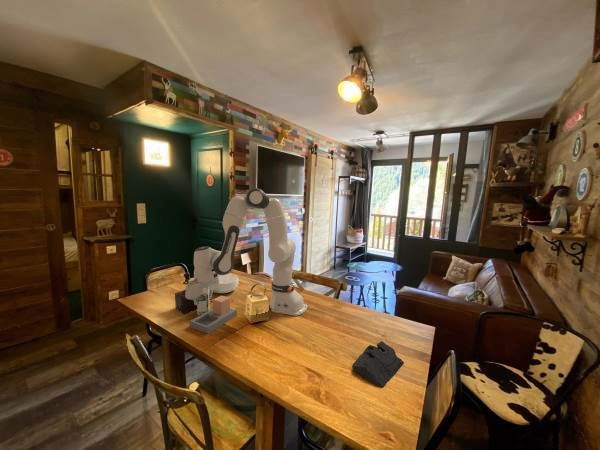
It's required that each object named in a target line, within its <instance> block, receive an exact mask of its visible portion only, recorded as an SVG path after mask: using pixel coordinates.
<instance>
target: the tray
mask: <svg viewBox="0 0 600 450" xmlns="http://www.w3.org/2000/svg"><path fill="white" fill-rule="evenodd" d="M236 316H238V311H237V309H235V308H231V298H230V297H228V296H225V295H219V296H217V297H216V298H213V299H212V309H209V311H208V312H206V313H204V314H201V315H198V316H197V317H195V318H193V319H191V320H190V321H189V327H190V328H191V327H192V329H194V330H196V329H197V331H199V332H202V333H204V332H205V333H204V334H207V333H208V334H211V333H213V331H215V330H217V329H218V328H220V327H221V326H222V325H225V324H226V323H227V322H229V321H231V320H232V319H233V318H235V317H236Z"/></svg>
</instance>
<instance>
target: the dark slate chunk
mask: <svg viewBox="0 0 600 450" xmlns="http://www.w3.org/2000/svg"><path fill="white" fill-rule="evenodd" d="M404 364H405V362H404V360H402V358H400V357H398V355H397V354H396V351H395V349H394V348H393V347H392V346H390V345H388V344H386V343H385V342H384V341H383V340H381V341H380V342H378V343H377V344H376V346H375V345H372V344H369V345H367V347H366V348H365V349H364V351H363V352H362V353H361V354H360V355H359V356H358V357H357V358H356V360H355V361H354V362H353V363H352V364H351V367H352V369H353V370H354V371H355V372H357V374H359V375H361V376H362V377H363V378H365V379H366V381H368V382H370V383H371V384H374V386H376V387H379V388H384V387H385V386H386V385H387V384H388V382H390V381H391V380H392V379H393V378H394V376H396V374H397V372H398V371H400V369H401V368H402V366H403V365H404Z"/></svg>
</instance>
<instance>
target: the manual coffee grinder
mask: <svg viewBox="0 0 600 450" xmlns="http://www.w3.org/2000/svg"><path fill="white" fill-rule="evenodd" d="M182 277H184V279H185V280H184V281H183V282H182V285H187V284H188V282H189V281H191V279H190V277H191V273H190V272H185V273H183V276H182ZM185 292H186V288H185V289H183V290H181V291H177V292H175V293H174V302H175V310H177V309H178V310H179V311H178V310H177V311H178V312H180V311H181V312H182V313H181V312H180V313H181V314H183V313H184V314H183V315H187V314H189V312H190V313H192V312H191V311H193V312H195V311H197V310H196V309H197V305H194V301H193V299H192V300H189V299H187V298H186V297H185ZM196 300H197V299H196ZM194 310H195V311H194ZM186 313H187V314H186Z"/></svg>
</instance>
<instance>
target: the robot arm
mask: <svg viewBox="0 0 600 450" xmlns="http://www.w3.org/2000/svg"><path fill="white" fill-rule="evenodd" d="M249 210H255V211H256V210H262V211H263V213H264V218H265V220H266V221H265V222H266V226H267V231H268V240H269V242H268V243H269V245H268V251H267V252H268V253H267V254H268V258H269V260H270V261H271V262H273V263H274V265H273V268H272V282H271V298H270V302H269V305H270V306H269V308H270V309H271V312H272V313H276V314H282V315H283V314H285V315H290V316H295V317H296V316H297V317H298V316H300V315H303V314H304V313H305V312H306V311H307V309H308V305H307V304H305V301H304V298H303V296H302V295H301V294H300V293H299V292H298V291H297V290H296V289H295V287H296V284H293V282H292V279H293V278H292V275H293V266H294V260H295V252H296V249H297V245H296V242H295V241H293V239H289V238H288V231H289V227H288V223H287V219H286V215H285V211H284V208H283V205H282V203H281V201H280V200H279V198H275V197H271V198H270V197H269V196H268V195H267V194H266V192H265V191H263V189H261V188H258V187H254V188H251V189H249V190H248V192H247V193H246V196H241V195H236V196H233V197H231V199H230V201H229V202H228V205H227V207H226V209H225V212H224V215H223V217H222V218H223V219H222V227H223V231H224V241H223V245H222V248H221V250H216V249H214V248H212V247H210V246H205V245H204V246H201V247H200V246H199V247H198V248H196V249H195V250H194V252H193V266H194V270H193V279H192V280H189V282H188V284H185V289H186V292H185V297H186V298H187V299H189V300H192V299H193V301H194V305H197V304H199V301H197V300H196V299H197V297H198V296H201V295H202V289H203V288H205V287H208V286H209V300H210V299H212V297H213V293H214V292H213V290H214V289H216V288H218V287H219V278H218V276H219V275H226V274H231V272H232V271H233V269H234V263H235V261H234V255H235V251H236V247H237V243H238V240H239V236H240V233H241V230H242V226H243V225H244V222H245V218H246V215H247V213H248V211H249ZM212 270H213V271H212Z"/></svg>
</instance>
